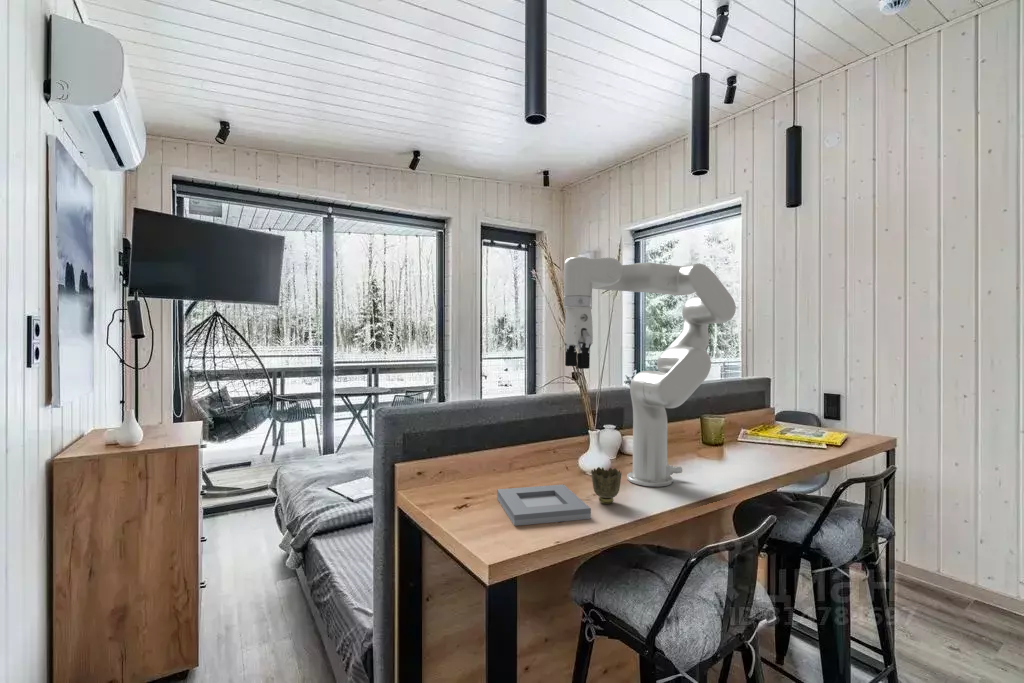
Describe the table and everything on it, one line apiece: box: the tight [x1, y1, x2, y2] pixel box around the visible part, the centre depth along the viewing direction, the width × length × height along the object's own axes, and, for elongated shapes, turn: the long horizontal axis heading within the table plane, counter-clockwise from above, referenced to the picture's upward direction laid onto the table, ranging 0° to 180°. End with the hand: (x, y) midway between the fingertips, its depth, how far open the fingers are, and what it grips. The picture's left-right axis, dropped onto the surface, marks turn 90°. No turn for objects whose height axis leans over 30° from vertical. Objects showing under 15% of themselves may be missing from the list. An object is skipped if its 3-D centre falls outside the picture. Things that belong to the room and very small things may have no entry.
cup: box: [590, 466, 622, 505], centre depth 122 cm, size 8×7×8 cm
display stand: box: [496, 484, 592, 527], centre depth 118 cm, size 18×18×2 cm
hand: (576, 367), depth 132 cm, fingers open, 9 cm apart
